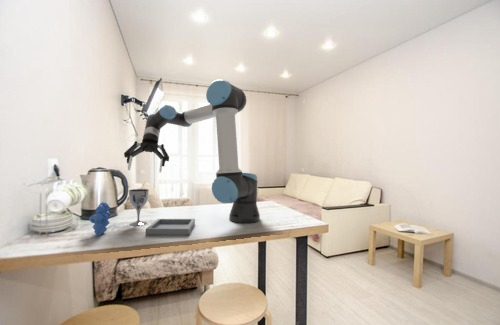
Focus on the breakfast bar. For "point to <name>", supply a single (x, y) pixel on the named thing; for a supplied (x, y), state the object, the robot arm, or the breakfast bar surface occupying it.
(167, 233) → the tray
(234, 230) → the breakfast bar surface
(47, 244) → the breakfast bar surface
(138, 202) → the wine glass
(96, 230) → the grapes
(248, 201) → the robot arm
